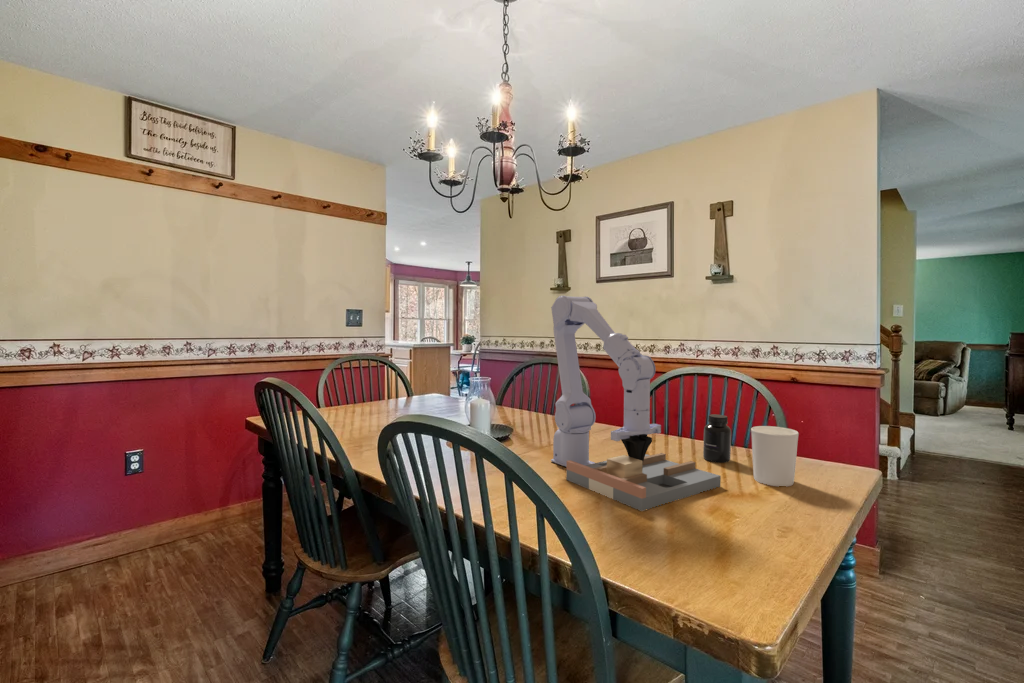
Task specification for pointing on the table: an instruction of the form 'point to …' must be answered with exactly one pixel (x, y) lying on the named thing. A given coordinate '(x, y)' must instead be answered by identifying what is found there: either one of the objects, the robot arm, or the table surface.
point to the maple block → (624, 466)
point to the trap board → (645, 481)
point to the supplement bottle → (717, 439)
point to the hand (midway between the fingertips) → (636, 467)
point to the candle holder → (774, 455)
